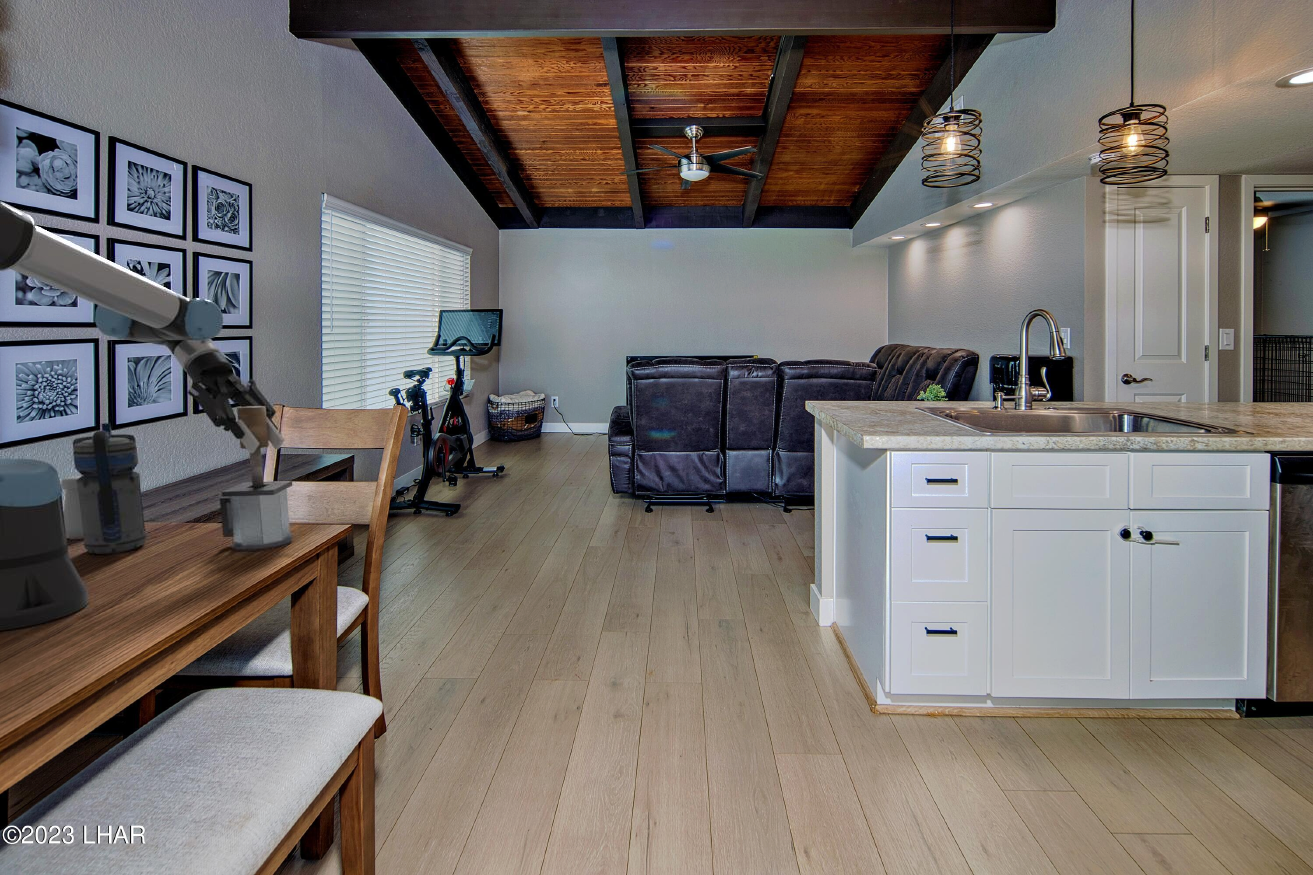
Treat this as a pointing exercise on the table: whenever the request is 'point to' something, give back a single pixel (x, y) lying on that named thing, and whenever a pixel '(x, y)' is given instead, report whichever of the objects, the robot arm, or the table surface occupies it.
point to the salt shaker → (72, 509)
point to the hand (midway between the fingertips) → (267, 446)
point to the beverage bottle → (109, 492)
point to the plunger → (258, 427)
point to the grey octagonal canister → (256, 515)
